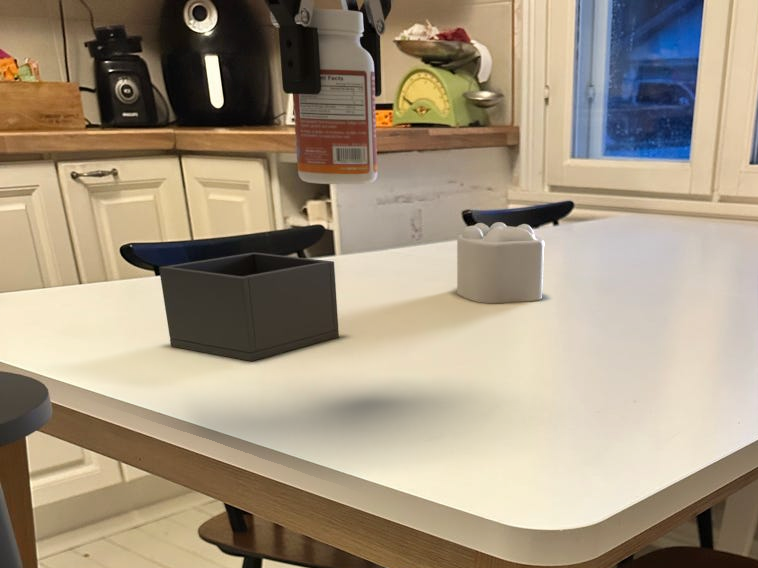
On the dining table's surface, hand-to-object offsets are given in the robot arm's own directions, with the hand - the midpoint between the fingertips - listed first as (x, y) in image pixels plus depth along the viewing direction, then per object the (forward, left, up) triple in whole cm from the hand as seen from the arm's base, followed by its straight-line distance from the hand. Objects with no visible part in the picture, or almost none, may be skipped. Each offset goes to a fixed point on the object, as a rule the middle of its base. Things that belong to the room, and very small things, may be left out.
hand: (333, 92), depth 69 cm
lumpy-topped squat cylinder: (+51, +16, -23) cm, 59 cm away
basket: (+11, +22, -23) cm, 34 cm away
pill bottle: (0, 0, -6) cm, 6 cm away
